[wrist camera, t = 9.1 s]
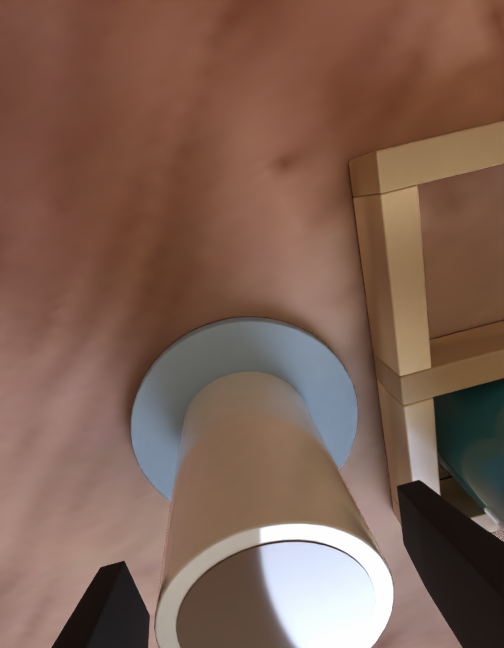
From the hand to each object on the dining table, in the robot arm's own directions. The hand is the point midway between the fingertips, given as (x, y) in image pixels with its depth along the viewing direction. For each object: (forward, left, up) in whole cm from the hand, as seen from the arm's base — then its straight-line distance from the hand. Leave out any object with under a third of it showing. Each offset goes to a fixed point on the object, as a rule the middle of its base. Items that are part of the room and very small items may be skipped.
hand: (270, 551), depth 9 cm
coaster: (0, 0, -6) cm, 6 cm away
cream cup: (0, 0, -5) cm, 5 cm away
